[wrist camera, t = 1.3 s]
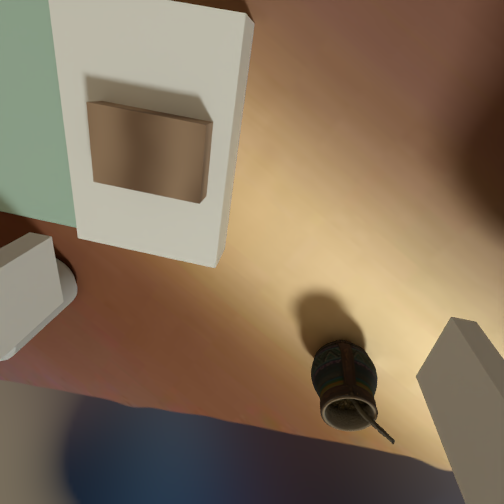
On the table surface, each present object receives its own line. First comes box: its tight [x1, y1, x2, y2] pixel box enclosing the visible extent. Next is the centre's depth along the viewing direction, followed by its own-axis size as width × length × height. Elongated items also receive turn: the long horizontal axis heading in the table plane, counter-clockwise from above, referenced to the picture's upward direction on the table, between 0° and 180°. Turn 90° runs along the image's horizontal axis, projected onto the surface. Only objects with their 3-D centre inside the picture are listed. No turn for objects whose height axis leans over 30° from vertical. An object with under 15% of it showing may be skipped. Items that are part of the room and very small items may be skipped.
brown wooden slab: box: [86, 101, 213, 204], centre depth 25 cm, size 9×6×2 cm, turn 81°
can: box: [0, 259, 77, 361], centre depth 34 cm, size 8×8×12 cm
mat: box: [0, 0, 77, 228], centre depth 30 cm, size 12×22×1 cm, turn 171°
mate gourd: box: [311, 340, 395, 444], centre depth 34 cm, size 7×8×10 cm
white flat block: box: [48, 0, 255, 268], centre depth 28 cm, size 14×20×4 cm
